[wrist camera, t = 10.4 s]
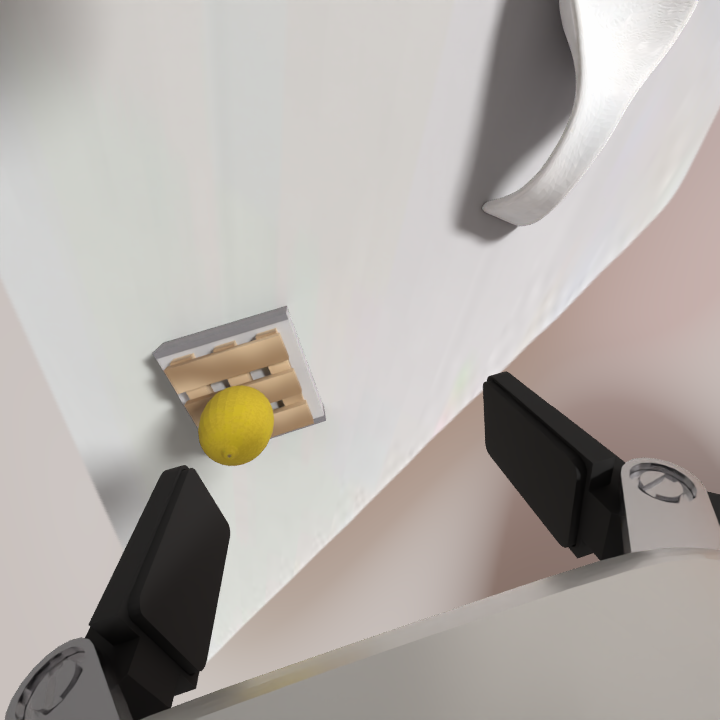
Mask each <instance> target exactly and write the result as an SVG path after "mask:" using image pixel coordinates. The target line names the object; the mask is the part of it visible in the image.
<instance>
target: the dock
mask: <svg viewBox="0 0 720 720" xmlns="http://www.w3.org/2000/svg"><path fill="white" fill-rule="evenodd" d="M274 328H276V329H277V331H278V333H279V332H280V334H281V337H282V340H283V342H284V345H285V347H286V350H287V352H288V355H289V362H290V364H291V367H292V368H294V370H295V373H296V375H297V378H298V381H299V383H300V386H301V388H302V395H303V397H304V400H306V401H307V404H308V406H309V409H310V411H311V414H312V416H313V419H314V424H317V423H320V422H323V421H326V417H325V411H324V406H323V403H322V401H321V398H320V395H319V392H318V390H317V387H316V384H315V382H314V379H313V376H312V373H311V371H310V368H309V365H308V362H307V360H306V357H305V354H304V351H303V349H302V346H301V343H300V341H299V338H298V335H297V332H296V330H295V327H294V324H293V321H292V319H291V316H290V313H289V311H288V308H287V306H284V307H281V308H278V309H274V310H271V311H268V312H264V313H261V314H258V315H254V316H251V317H248V318H244V319H241V320H238V321H234V322H231V323H228V324H225V325H221V326H218V327H215V328H211V329H208V330H205V331H201V332H198V333H195V334H191V335H188V336H185V337H181V338H178V339H175V340H171V341H168V342H165V343H163V344H162V345H160V346H159V347H158V348H157V349H156V350H155V351H154V352H153V353H152V354H153V356H154V357H155V359H157V361H158V363H159V365H160V366H161V368H162V370H163V371H164V370H165V369H166V367H168V366H171V365H170V362H171V361H172V360H173V359H175V358H178V357H182V356H185V355H188V354H192V353H194V355H195V357H196V358H197V357H201V356H204V355H207V354H210V353H214V352H213V349H214V348H215V346H218V345H221V344H224V343H228V342H231V341H234V340H235V341H236V343H237V345H240V344H243V343H246V342H250V341H253V340H256V334H257V333H261V332H264V331H267V330H271V329H274ZM164 373H165V372H164ZM250 374H251V376H252V378H253V380H255V379H259V378H262V377H265V376H268V375H271V372H270V370H269V368H268V366H267V367H264V368H261V369H258V370H254V371H251V372H250ZM165 375H166V374H165ZM166 376H167V375H166ZM167 378H168V377H167ZM168 380H169V379H168ZM169 381H170V380H169ZM170 383H171V382H170ZM171 385H172V384H171ZM210 385H211V387H212V389H213V391H214V392H217V391H220V390H223V389H225V388H228V387H231V386H230V384H229V382H228V380H227V379H225V380H222V381H219V382H216V383H212V384H210ZM172 386H173V385H172ZM173 388H174V387H173ZM174 390H175V389H174ZM175 391H176V390H175ZM176 393H177V392H176ZM177 395H178V397H179V398H180V400H181V402H182V403H183V405H185V403H186V402H187V401H188V400H190V398H189V397H188V395H187V393H186V392H183V393H180V394H177ZM270 404H271V406H272V409H273V410H274V409H277V408H281V407H284V406H285V405H284V403H283V400H279V401H276V402H273V403H270ZM184 407H185V406H184ZM185 408H186V407H185ZM186 410H187V409H186ZM187 412H188V411H187ZM188 413H189V412H188ZM189 415H190V414H189ZM190 417H191V416H190ZM191 418H192V417H191ZM192 420H193V419H192ZM193 422H194V421H193ZM314 424H311V425H314ZM195 425H196V424H195ZM311 425H308V426H311ZM308 426H305V427H308ZM196 427H197V429H198V428H199V426H196ZM305 427H302V428H305ZM302 428H299V429H302ZM299 429H295V430H292V431H296V430H299ZM292 431H289V432H292ZM289 432H286V433H289ZM286 433H283V434H286ZM283 434H280V435H283ZM280 435H277V436H280ZM277 436H274V437H277ZM274 437H271V438H274ZM271 438H270V439H271Z"/></svg>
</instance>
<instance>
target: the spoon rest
mask: <svg viewBox="0 0 720 720" xmlns="http://www.w3.org/2000/svg"><path fill="white" fill-rule="evenodd" d="M698 1H699V0H559V8H560V15H561V20H562V25H563V29H564V32H565V35H566V38H567V41H568V44H569V47H570V50H571V53H572V57H573V61H574V67H575V73H576V93H575V100H574V104H573V109H572V112H571V116H570V118H569V121H568V123H567V126H566V128H565V130H564V132H563V134H562V136H561V138H560V140H559V142H558V144H557V145H556V147H555V149H554V151H553V152H552V154H551V155H550V157H549V158H548V160H547V161H546V163H545V164H544V165H543V167H542V168H541V170H540V171H539V172H538V173H537V174H536V175H535V176H534V177H533V178H532V179H531V180H530V181H529V182H528V183H527V184H526V185H525V186H523V187H522V188H521V189H519V190H518V191H516V192H514V193H512V194H510V195H508V196H505V197H502V198H498V199H494V200H490V201H488V202H486V203H485V204H484V205H483V207H482V209H483V211H485V212H486V213H488V214H491V215H493V216H495V217H497V218H500V219H502V220H504V221H506V222H509V223H511V224H514V225H517V226H526V225H530V224H533V223H535V222H537V221H539V220H541V219H542V218H543V217H545V216H546V215H547V214H548V213H550V212H551V211H552V210H553V209H554V208H555V207H556V206H557V205H558V204H559V203H560V202H561V201H562V200H563V199H564V198H565V197H566V195H567V194H568V193H569V192H570V191H571V190H572V188H573V187H574V186H575V185H576V183H577V182H578V181H579V180H580V178H581V177H582V176H583V175H584V173H585V172H586V171H587V170H588V168H589V167H590V165H591V164H592V163H593V161H594V160H595V159H596V157H597V156H598V154H599V153H600V152H601V150H602V149H603V147H604V146H605V144H606V143H607V141H608V139H609V138H610V136H611V135H612V133H613V131H614V130H615V128H616V126H617V125H618V123H619V121H620V119H621V117H622V116H623V114H624V112H625V110H626V109H627V107H628V105H629V104H630V102H631V100H632V99H633V98H634V96H635V94H636V93H637V92H638V90H639V89H640V87H641V86H642V84H643V83H644V82H645V81H646V79H647V78H648V77H649V76H650V74H651V73H652V72H653V70H654V69H655V68H656V67H657V65H658V64H659V63H660V62H661V60H662V59H663V57H664V56H665V55H666V53H667V52H668V51H669V49H670V48H671V47H672V45H673V44H674V42H675V41H676V39H677V38H678V36H679V35H680V33H681V31H682V30H683V28H684V27H685V25H686V24H687V22H688V21H689V19H690V17H691V15H692V13H693V11H694V9H695V7H696V5H697V3H698Z"/></svg>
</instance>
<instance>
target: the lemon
mask: <svg viewBox="0 0 720 720" xmlns="http://www.w3.org/2000/svg"><path fill="white" fill-rule="evenodd" d="M273 426H274V414H273V409H272V406H271V404H270V402H269V400H268V399H267V398H266V397H265V395H264V394H263V393H261V392H260V391H258V390H257V389H255V388H252V387H249V386H243V385H240V386H232V387H228V388H225V389H223V390H222V391H220V392H218V393H217V394H216V395H215V396H214V397H213V398H212V399H211V400H210V401H209V402H208V403H207V405H206V406H205V408H204V410H203V412H202V414H201V417H200V422H199V428H198V433H199V441H200V445H201V447H202V449H203V451H204V452H205V453H206V455H207V456H208V457H209V458H210V459H212V460H213V461H215V462H217V463H220V464H222V465H228V466H237V465H241V464H245V463H247V462H250V461H251V460H253V459H254V458H256V457H257V456H258V455H259V454H260V453H261V452H262V451H263V450H264V448H265V447H266V446H267V444H268V442H269V439H270V437H271V435H272V432H273Z"/></svg>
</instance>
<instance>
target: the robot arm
mask: <svg viewBox="0 0 720 720" xmlns="http://www.w3.org/2000/svg"><path fill="white" fill-rule="evenodd" d="M483 399H484V422H485V444H486V449H487V451H488V453H489V454H490V456H491V457H492V459H493V460H494V461H495V463H496V464H497V465H498V466H499V468H500V469H501V470H502V471H503V473H504V474H505V475H506V477H507V478H508V479H509V480H510V482H511V483H512V484H513V485H514V487H515V488H516V489H517V491H518V492H519V493H520V494H521V496H522V497H523V498H524V499H525V501H526V502H527V503H528V505H529V506H530V507H531V508H532V510H533V511H534V512H535V513H536V515H537V516H538V517H539V519H540V520H541V521H542V522H543V524H544V525H545V526H546V527H547V529H548V530H549V531H550V533H551V534H552V535H553V536H554V538H555V539H556V540H557V541H558V543H559V544H560V545H561V546H562V547H565V548H566V547H569V548H570V550H571V551H572V552H573V553H574V554H575V556H576V557H577V558H580V557H583V556H586V555H589V554H592V553H594V554H595V555H596V556H597V557H598V559H599V560H600V561H598V562H595V563H592V564H589V565H585V566H582V567H579V568H576V569H573V570H570V571H566V572H563V573H560V574H557V575H554V576H551V577H547V578H544V579H541V580H538V581H535V582H532V583H529V584H527V585H523V586H520V587H517V588H514V589H512V590H509V591H505V592H502V593H499V594H497V595H494V596H491V597H488V598H485V599H482V600H479V601H476V602H473V603H470V604H467V605H464V606H461V607H458V608H455V609H452V610H449V611H446V612H443V613H441V614H437V615H434V616H432V617H429V618H426V619H423V620H420V621H417V622H414V623H411V624H408V625H405V626H402V627H399V628H397V629H393V630H391V631H388V632H385V633H382V634H379V635H376V636H373V637H370V638H367V639H364V640H361V641H359V642H356V643H353V644H350V645H347V646H344V647H341V648H338V649H335V650H333V651H330V652H327V653H324V654H321V655H318V656H315V657H312V658H309V659H307V660H304V661H301V662H298V663H295V664H292V665H289V666H287V667H284V668H281V669H278V670H275V671H272V672H269V673H267V674H264V675H261V676H258V677H255V678H252V679H250V680H246V681H244V682H241V683H238V684H235V685H232V686H229V687H227V688H224V689H221V690H218V691H215V692H213V693H210V694H207V695H204V696H202V697H199V698H196V699H194V700H191V701H188V702H186V703H183V704H181V705H177V706H175V707H172V708H171V706H172V702H173V698H174V696H176V695H179V694H182V693H185V692H188V691H190V690H193V689H196V685H197V681H198V675H199V671H202V670H203V669H204V667H205V665H206V661H207V656H208V651H209V646H210V640H211V635H212V630H213V624H214V619H215V614H216V608H217V603H218V598H219V592H220V587H221V581H222V576H223V571H224V565H225V560H226V555H227V549H228V544H229V539H230V527H229V524H228V522H227V521H226V519H225V518H224V516H223V514H222V513H221V511H220V509H219V508H218V506H217V505H216V503H215V501H214V500H213V498H212V496H211V495H210V493H209V492H208V490H207V488H206V487H205V485H204V483H203V482H202V480H201V479H200V477H199V475H198V474H197V472H196V471H195V469H193V468H190V469H189V468H188V467H187V466H186V465H183V466H179V467H176V468H172V469H169V470H165V471H164V472H163V473H162V474H161V476H160V478H159V480H158V482H157V484H156V486H155V488H154V490H153V492H152V495H151V497H150V499H149V501H148V503H147V505H146V507H145V509H144V511H143V513H142V515H141V517H140V519H139V521H138V523H137V525H136V528H135V530H134V532H133V534H132V536H131V538H130V540H129V542H128V544H127V546H126V548H125V550H124V552H123V554H122V556H121V559H120V561H119V563H118V565H117V567H116V569H115V571H114V573H113V575H112V577H111V579H110V582H109V584H108V585H107V588H106V590H105V592H104V594H103V596H102V598H101V600H100V602H99V604H98V606H97V608H96V610H95V612H94V614H93V616H92V618H91V621H90V623H89V626H90V629H89V631H88V633H87V635H86V637H85V638H77V639H73V640H70V641H68V642H66V643H64V644H63V645H61V646H59V647H58V648H56V649H55V650H53V651H52V652H51V653H49V654H48V655H47V656H46V657H45V658H44V659H43V660H42V661H41V662H40V663H39V664H37V665H36V667H34V668H33V670H32V671H31V672H30V673H29V675H28V676H27V677H26V678H25V679H24V681H23V682H22V683H21V685H20V686H19V688H18V690H17V691H16V693H15V695H14V696H13V698H12V700H11V702H10V704H9V707H8V709H7V712H6V716H5V720H720V494H715V493H711V492H707V491H706V489H705V487H704V486H703V484H702V482H701V481H699V480H698V479H697V478H696V477H695V476H694V475H693V474H692V473H690V472H688V471H687V470H685V469H683V468H682V467H680V466H677V465H675V464H672V463H670V462H667V461H663V460H659V459H653V458H637V459H632V460H630V461H628V462H626V463H625V462H624V461H623V460H621V459H620V458H619V457H617V456H616V455H615V454H614V453H612V452H611V451H610V450H608V449H607V448H606V447H605V446H603V445H602V444H601V443H599V442H598V441H597V440H596V439H594V438H593V437H592V436H590V435H589V434H588V433H586V432H585V431H584V430H583V429H581V428H580V427H579V426H578V425H576V424H575V423H574V422H572V421H571V420H569V419H568V418H567V417H566V416H565V415H563V414H562V413H561V412H559V411H558V410H557V409H556V408H554V407H553V406H551V405H550V404H548V403H547V402H546V401H545V400H543V399H542V398H541V397H539V396H538V395H537V394H535V393H534V392H533V391H532V390H530V389H529V388H527V387H526V386H525V385H524V384H523V383H521V382H520V381H519V380H517V379H516V378H515V377H514V376H512V375H511V374H510V373H508V372H502V373H498V374H495V375H491V376H489V377H488V378H487V382H484V384H483Z"/></svg>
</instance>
